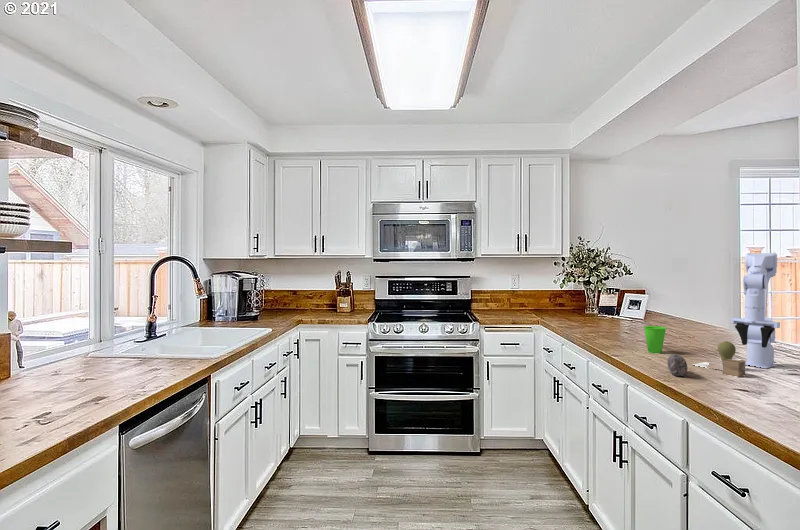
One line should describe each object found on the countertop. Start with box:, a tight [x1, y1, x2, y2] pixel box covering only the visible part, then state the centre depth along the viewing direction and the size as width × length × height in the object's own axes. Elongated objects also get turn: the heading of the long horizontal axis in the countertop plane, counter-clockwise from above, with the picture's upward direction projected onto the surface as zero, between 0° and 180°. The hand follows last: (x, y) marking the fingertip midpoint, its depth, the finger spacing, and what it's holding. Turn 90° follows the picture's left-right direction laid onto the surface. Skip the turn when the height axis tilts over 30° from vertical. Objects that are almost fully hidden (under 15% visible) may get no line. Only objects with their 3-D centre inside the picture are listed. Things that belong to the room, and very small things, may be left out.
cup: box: [643, 325, 667, 354], centre depth 211 cm, size 9×9×11 cm
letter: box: [692, 361, 710, 369], centre depth 183 cm, size 10×14×1 cm
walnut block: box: [722, 358, 746, 378], centre depth 171 cm, size 5×5×5 cm
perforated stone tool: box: [666, 353, 689, 377], centre depth 173 cm, size 15×5×7 cm, turn 159°
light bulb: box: [717, 341, 737, 366], centre depth 180 cm, size 6×6×10 cm
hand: (754, 345), depth 172 cm, fingers open, 5 cm apart
